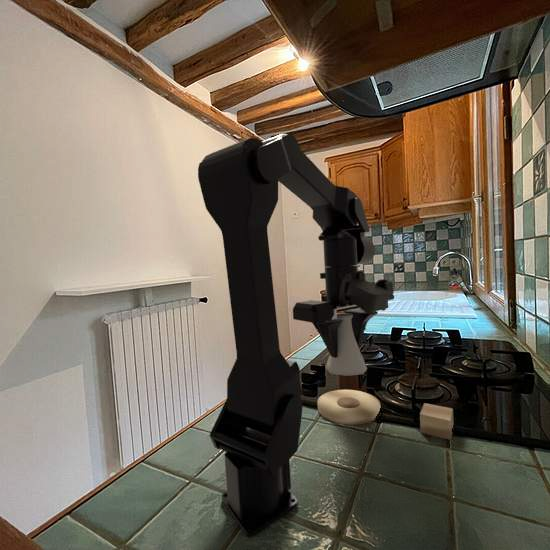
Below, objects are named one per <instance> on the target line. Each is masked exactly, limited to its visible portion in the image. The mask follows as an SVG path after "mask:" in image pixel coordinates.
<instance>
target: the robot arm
mask: <svg viewBox="0 0 550 550" xmlns="http://www.w3.org/2000/svg"><path fill="white" fill-rule="evenodd" d="M197 178H198V183H199V187H200V190H201V194H202V199H203V203H204V206H205V209H206V211H207V213H208V214H209V216H210V217H211V218H212V220H213V221H214V222H215V224H216V225H217V226H218V228H219V230H220V231H221V235H222V242H223V249H224V251H223V252H224V258H225V259H224V260H225V266H226V267H225V268H226V276H227V285H228V291H229V293H228V294H229V299H230V302H229V303H230V308H231V317H232V325H233V327H232V328H233V334H234V342H235V349H236V350H235V351H236V359H235V361H234V363H233V366H232V368H231V370H230V372H229V375H228V377H227V380H226V400H225V402H224V404H223V405H222V407H221V410H220V412H219V415H218V416H217V418H216V421H215V423H214V424H213V426H212V428H211V431H210V433H209V438H210V440H211V442H212V444H213V446H214V447H213V448H215V449H217V450H221V451H223V452H225V453H224V464H225V465H224V466H225V479H226V480H225V481H226V482H225V483H226V491H225V492H223V493H222V494H221V501H222V503H223V504H224V505H225V508H227V510H228V511H229V513H230V515H231V516H232V517H233V518H234V520H235V521H236V522H237V525H239V527H240V529H241V530H242V531H243V533H244V534H245V536H246V537H253V536H254V535H256V534H257V533H259V532H260V531H262V530H264V529H265V528H267V527H268V526H269V525H271V524H272V523H274V522H275V521H277V520H278V519H281V517H283V516H285V515H286V514H287V513H289V512H290V511H293V509H295V508H297V507H298V505H299V504H298V503H299V502H298V498H297V497H296V496H295V495H294V494H293V493H292V492H291V491H289V490H291V489H292V482H291V481H292V480H291V476H292V475H291V464H290V462H291V461H290V459H291V458H292V457H293V456H294V455H295V454H296V453H297V451H298V450H299V440H300V432H301V425H302V424H301V423H302V417H303V415H302V414H303V401H302V397H301V396H303V394H304V393H303V389H302V386H301V376H300V375H301V373H300V371H301V369H300V366H299V363H298V362H297V361H294V360H290V359H289V360H288V359H285V357H284V355H283V354H282V353H281V348H280V340H279V338H280V337H279V331H278V329H279V327H278V320H277V311H276V310H277V309H276V300H275V292H274V291H275V290H274V284H273V272H272V265H271V264H272V263H271V254H270V244H269V236H268V226H269V223H270V221H271V218H272V216H273V213H274V211H275V209H276V206H277V204H278V202H279V183H280V184H281V185H283V186H284V187H285V188H286V189H288V190H289V191H290V192H291V193H293V194H294V195H295V196H296V198H298V199H300V200H301V201H302V202H303V203H305V204H306V205H307V206H308V207H310V209H311V210H312V219H313V220H314V221H315V223H316V224H317V225H318V226H319V227H320V229H321V231H322V232H321V233H320V234H319V236H318V237H317V238H318V241H323V243H322V244H323V261H324V262H323V263H324V272H321V273H319V275H320V276H319V277H320V278H319V279H320V280H323V279H324V281H325V283H324V284H325V294H324V295H320V299H321V300H305V301H299V302H295V304H294V306H293V307H292V319H293V320H295V321H301V322H307V323H311V324H312V325H313V327H314V328H315V330H316V331H317V332H318V333H317V334H319V336H320V338H321V340H322V342H323V343H324V346H325V347H326V349H327V351H328V353H329V356H330V355H331V357H334V358H336V357H337V354H338V327H339V326H340V324H341V323H342V322H343V320H340V319H337V313H341V312H343V313H351V314H353V317H352V318H351V322H352V329H353V333H354V337H355V340H356V342H357V345H358V347H359V348H361V343H362V341H363V337H364V333H365V329H366V327H367V325H368V322H369V321H370V320H371V319H372V318H373V317H375V316H377V315H378V314H379V311H382V312H384V311H386V309H388V308H389V301H393V300H394V299H395V294H394V292H395V291H394V284H393V281H391V280H388V279H386V278H383V279H379V280H377V282H374V281H372V282H371V281H370V282H369V281H367V280H366V277H365V273H364V271H363V270H359V267H358V265H365V264H369V262H371V261H372V260H373V258H374V257H375V253H376V246H375V244H374V243H373V241H372V239H370V238H369V237H367V236H366V233H370V227H369V222H368V220H367V216H366V212H365V209H364V205H363V203H362V200H361V198H359V196H358V195H357V194H356V193H355V192H353V191H352V190H351V189H350V188H348V187H345V186H340V185H335V184H334V183H333V182H331V180H330V179H329V178H328V177H327V176H326V175H325V174H324V173H323V172H322V171H321V170H320V168H318V167H317V165H316V164H315V163H314V162H313V161H312V160H311V159H310V157H308V156H307V155H306V153H305V152H304V151H303V150H302V149H301V147H300V144H299V142H298V139H297V138H296V136H295V135H293V134H291V133H289V134H287V133H281V134H279V135H276V136H274V137H271V138H268V139H266V140H262V141H261V140H260V139H258V138H256V137H249V138H247V139H243V140H242V141H239V142H236V143H234V144H232V145H229V146H227V147H224V148H221V149H219V150H216V151H213V152H211V153H208V154H207V155H205V156H204V158H203V159H202V160H201V162H199V163H198V168H197Z"/></svg>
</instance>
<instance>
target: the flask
mask: <svg viewBox="0 0 550 550" xmlns="http://www.w3.org/2000/svg"><path fill="white" fill-rule="evenodd" d="M352 317H353V314H351V313H344V312H337V319H340V320H343V322H342V323H341V324H340V326H339V327H338V354H337V357H336V358H334V357H331V355H330V354H329V356H328V358H327V363H326V367H325V369H326V370H327V371H328V373H329V374H331V375H338V376H339V375H340V376H345V377H347V376H350V377H351V376H357V375H358V376H359V375H364V374H365V373H366V371H367V370H368V367H367V364H366V362H365V359H364V357H363V355H362V353H361V350H360V347H358V345H357V342H356V340H355V337H354V333H353V329H352V322H351V318H352Z"/></svg>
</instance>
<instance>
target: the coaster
mask: <svg viewBox="0 0 550 550" xmlns="http://www.w3.org/2000/svg"><path fill="white" fill-rule="evenodd" d="M380 408H381V403H380V400H379V399H377V398H376V397H375V396H374V395H372V394H370V393H367V392H365V391H364V392H363V391H361V390H356V389H355V390H354V389H337V390H331V391H328V392H325V393H323V394H322V395H320V396H319V397H318V399H317V411H318V413H319V414H320V416H322V417H323V418H324V419H326V420H328V421H330V422H334V423H336V424H342V425H351V426H353V425H363V424H367V423H371V422H373V421H375V420H376V419H375V418H376V416H377V414H378V413H379V411H380Z"/></svg>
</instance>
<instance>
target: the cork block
mask: <svg viewBox="0 0 550 550" xmlns="http://www.w3.org/2000/svg"><path fill="white" fill-rule="evenodd" d="M419 422H420V423H419V425H420V427H419V428H420V433H422V434H426V435H430V436H434V437H437V438H442V439H445V440H449V441H452V436H453V432H452V428H453V429H454V427H453V425H454V409H453V408H451V407H447V406H441V405H437V404H436V405H435V404H430V403H425V402H424V403H423V406H422V407H421V410H420V412H419Z"/></svg>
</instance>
